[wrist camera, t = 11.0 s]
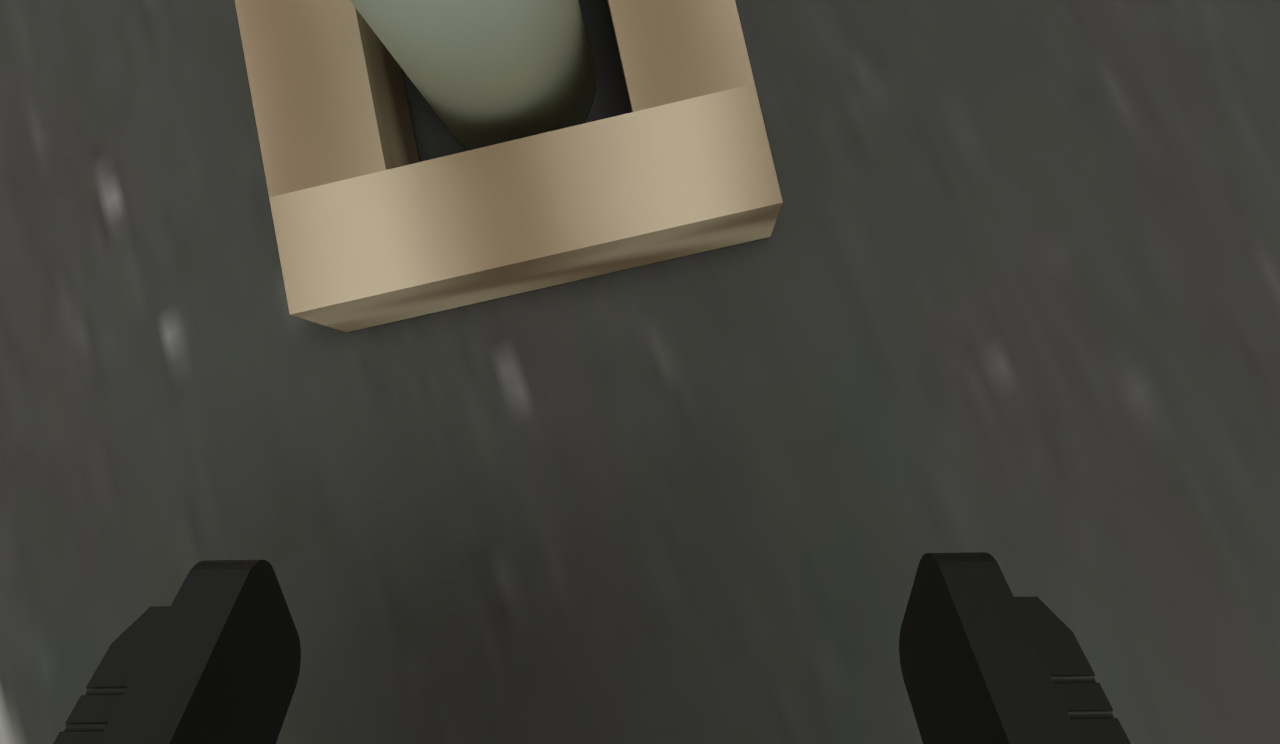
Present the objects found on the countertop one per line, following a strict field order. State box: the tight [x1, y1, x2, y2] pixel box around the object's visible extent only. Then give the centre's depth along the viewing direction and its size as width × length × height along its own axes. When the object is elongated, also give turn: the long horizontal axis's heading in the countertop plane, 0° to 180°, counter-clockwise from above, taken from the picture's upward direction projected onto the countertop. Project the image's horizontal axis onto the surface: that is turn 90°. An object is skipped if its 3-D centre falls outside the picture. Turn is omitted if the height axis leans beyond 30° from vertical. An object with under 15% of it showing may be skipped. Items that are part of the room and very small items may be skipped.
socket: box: [235, 0, 783, 332], centre depth 20 cm, size 11×11×3 cm
